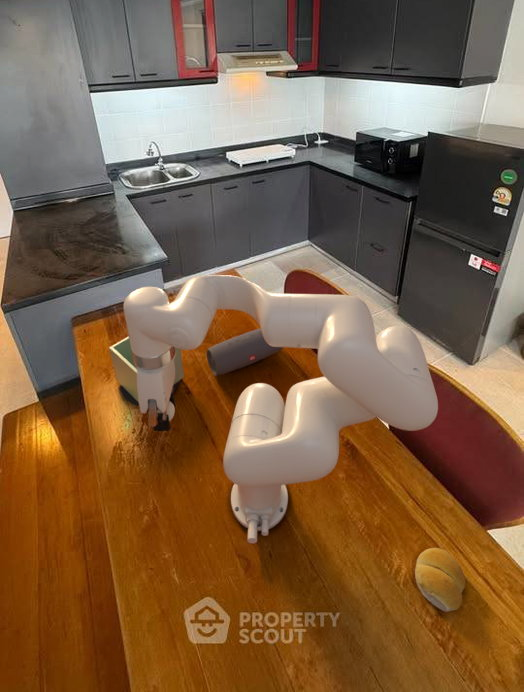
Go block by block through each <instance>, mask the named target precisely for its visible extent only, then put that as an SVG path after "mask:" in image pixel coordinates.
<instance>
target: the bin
mask: <svg viewBox="0 0 524 692" xmlns="http://www.w3.org/2000/svg"><path fill="white" fill-rule="evenodd" d="M108 349H109V352H110V358H111V362H112V366H113V371H114V376H115V379H116V381H117V383H119V384H120V386H121V385H122V386H123V387H124V388H125V389H126V390H127V391H128V392H129V393H130V394H131V395H132V396H133V397H134V398H135V399H136V400H137V401H138V402H139V400H138V392H137V368H136V366H135V365H134V360H133V355H132V350H131V345H130V340H129V335H128V336H126V337H125V338H123V339H121V340H119V341H118V342H116V343H115V344H113V345H111V346H109V348H108ZM175 351H176V355H175V358H174V363H175V379H174V383H173V385H174V384H175V383H177V382H178V381H179V380H180V381H181V380H182V379H184V378H185V375H184V374H185V373H184V366H183V357H182V349H178V348H175ZM180 381H179V382H180Z"/></svg>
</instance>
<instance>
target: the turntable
mask: <svg viewBox="0 0 524 692" xmlns="http://www.w3.org/2000/svg"><path fill="white" fill-rule="evenodd" d="M180 381H181V380H179V381H178V382H177V383H175V384H174V385H173V393H174V392H175V391H176V390H177V388H178V387H179V384H180ZM120 392H121V394H122V397H123V398H124V400H125V401H126V402H128V403H129V404H130V405H134V406H138V407H139V402H138V401H137V400H136V399H135V398H134V397H133V396H132V395H131V394H130V393H129V392H128V391H127V390H126V389H125V388H124V387H123V386H122V385H121V384H120Z"/></svg>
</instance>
